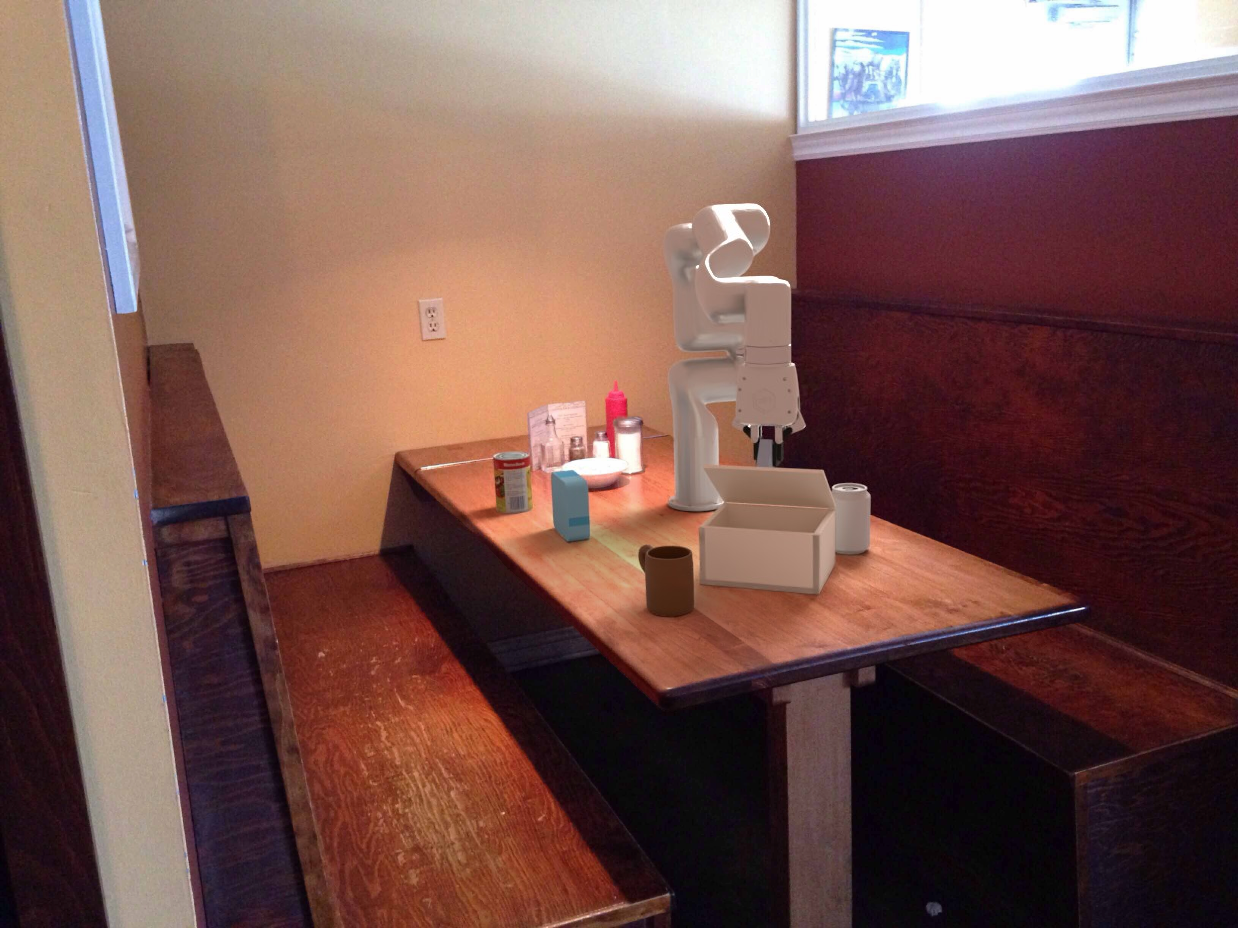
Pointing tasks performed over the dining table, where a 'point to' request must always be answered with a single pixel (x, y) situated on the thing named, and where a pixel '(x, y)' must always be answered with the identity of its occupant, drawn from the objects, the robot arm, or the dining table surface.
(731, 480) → the flap
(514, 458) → the canned food
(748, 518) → the mailer box
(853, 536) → the can
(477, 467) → the dining table surface
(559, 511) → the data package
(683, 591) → the mug
